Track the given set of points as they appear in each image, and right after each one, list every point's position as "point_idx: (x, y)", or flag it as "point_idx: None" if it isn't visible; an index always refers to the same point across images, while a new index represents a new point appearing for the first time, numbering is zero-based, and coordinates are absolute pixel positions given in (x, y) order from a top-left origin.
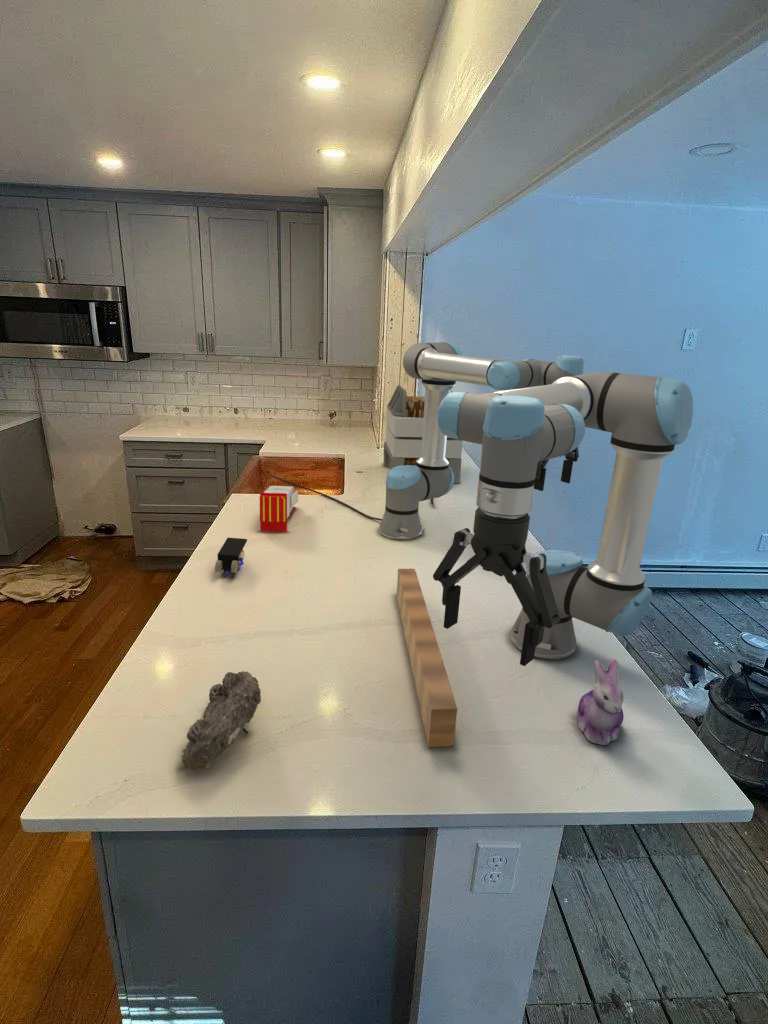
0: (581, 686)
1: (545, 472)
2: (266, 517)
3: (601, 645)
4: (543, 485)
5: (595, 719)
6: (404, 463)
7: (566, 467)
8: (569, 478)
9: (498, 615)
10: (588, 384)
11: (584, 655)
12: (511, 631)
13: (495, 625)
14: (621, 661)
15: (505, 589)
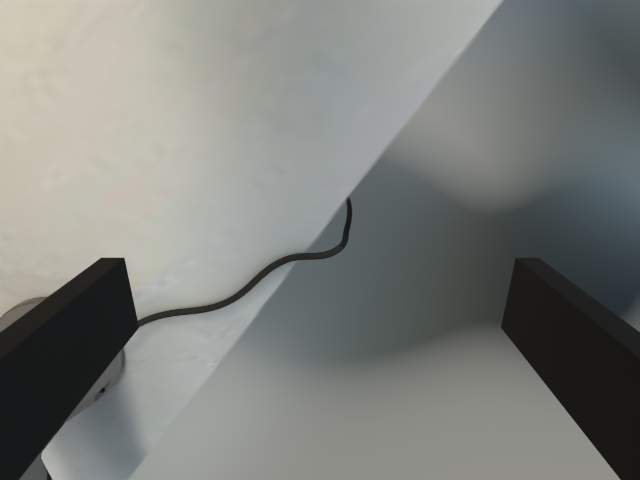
0: None
1: (17, 471)
2: None
3: (159, 405)
4: (109, 355)
5: None
6: None
7: (605, 392)
8: (527, 356)
9: (46, 241)
10: None
11: (106, 404)
12: (4, 314)
13: (13, 263)
14: (149, 439)
15: (152, 169)
